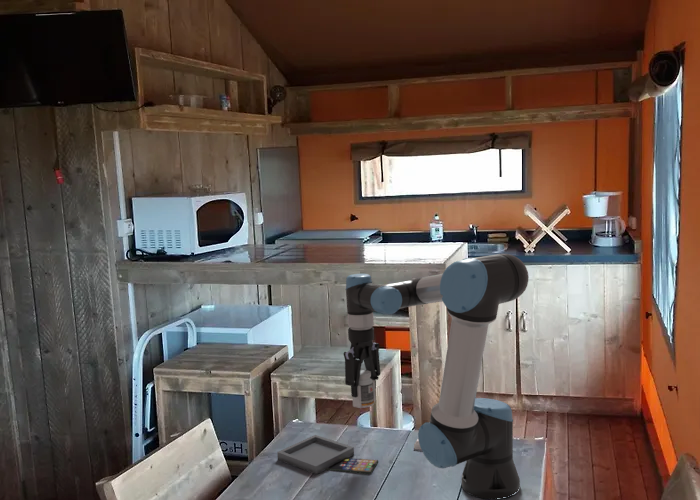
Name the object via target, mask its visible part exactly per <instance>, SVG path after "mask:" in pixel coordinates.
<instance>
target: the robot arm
mask: <svg viewBox="0 0 700 500" xmlns="http://www.w3.org/2000/svg"><path fill="white" fill-rule="evenodd" d="M372 280H373V279H372V276H371V275H370V274H369V273H352V274H349V275H347V277H346V279H345V296H346V297H345V298H346V299H345V300H346V313H347V327H349V328H348V329H347V333H348V334H347V335H348V336H347V337H348V341H349V342H350V348H349V350H348V351H344V352H343V358H344V375H345V377H344V379H345V385H346V386H350V393H351V394H350V395H351V397H352V407H354V408H358V409H361V408H362V405H361V386H359V378H360V371H361V370H362V364H363V363H364V366H365V370H368V371H370V372H371V377H370V378H371V379H372V381H373V392H374V403H375V402H376V400H377V399H376V388H377V384H376V381H377V380H379V378H380V377H379V376H380V375H381V365H380V362H381V361H380V353H379V351H380V343H378V342H373V341H374V340H375V328H374V327H373V326H374V325H375V324H374V322H375V321H374V312H376V313H378V314H383V315H393V314H395V313H396V312H398V311H399V310H400V309H406V308H409V307H416V306H421V305H427V304H434V303H435V304H436V303H442V302H443V304H444V306H445V307H446V312H447V313H448V315H449V316H450V317H451V321H450V322H451V323H450V327H449V328H450V330H449V336H448V342H447V348H446V349H447V350H446V354H445V362H444V366H443V367H444V369H443V374H442V380H441V388H440V395H439V400H438V402H437V403H435V404H434V405H433V406H432V408H431V411H430V418H429V422H428V421H426V422H424V423H423V424H421V426H420V427H419V429H418V433H417V435H418V436H417V439H418V440H419V444H420V447H421V449H422V450H421V451H422V454H423V456H424V457H425V458H426V459H427V461H428V462H429V463H430V464H431V465H433V466H434V467H435V468H437V469H446V468H447V469H448V468H450V467H455V466H457V465H460V464H462V463H464V462H465V465H464V467H463V470H462V472H461V473H462V474H461V488H462V490H463V491H464V492H466V493H467V494H468V495H471V496H473V497H475V498H480V499H486V500H498V499H497V498H503V497H508V496H510V495H512V494H514V493H515V492H517V491H518V489H519V487H520V488H521V480H520V476H519V473H518V471H517V468H516V464H515V462H514V459H513V458H514V456H513V451H514V450H513V448H514V447H513V446H514V445H513V443H514V442H513V441H514V440H513V439H514V438H513V437H514V434H513V433H514V432H513V431H514V430H513V428H514V425H513V422H514V419H513V410H512V408H511V406H510V405H509V404H507V403H506V402H504V401H501V400H497V399H493V398H488V397H487V398H484V397H477V392H478V387H479V381H480V375H481V370H482V364H483V357H484V351H485V347H486V341H487V336H488V335H487V334H488V329H489V324H490V325H491V323H493V322H495V321H496V320H497V315H498V310H499V305H501V304H504V303H509V302H512V301H515V300H517V299H518V298H520V296H522V295H523V294H524V292H526V289H527V288H528V285H529V272H528V268H527V267H526V265H525V263H524V262H523V261H522V260H521V259H520V258H518V257H517V256H515V255H513V254H509V253H498V254H491V255H484V256H478V257H465V258H462V259H461V260H457V261H454V262H453V263H452V262H451V264H449V265H447V267H446V268H445V270H444V271H443V273H440V274H436V275H429V276H423V277H418V278H413V279H409V280H403V281H397V282H391V283H383V284H375V283H373V281H372ZM354 381H355V382H354ZM508 498H509V497H508Z"/></svg>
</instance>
